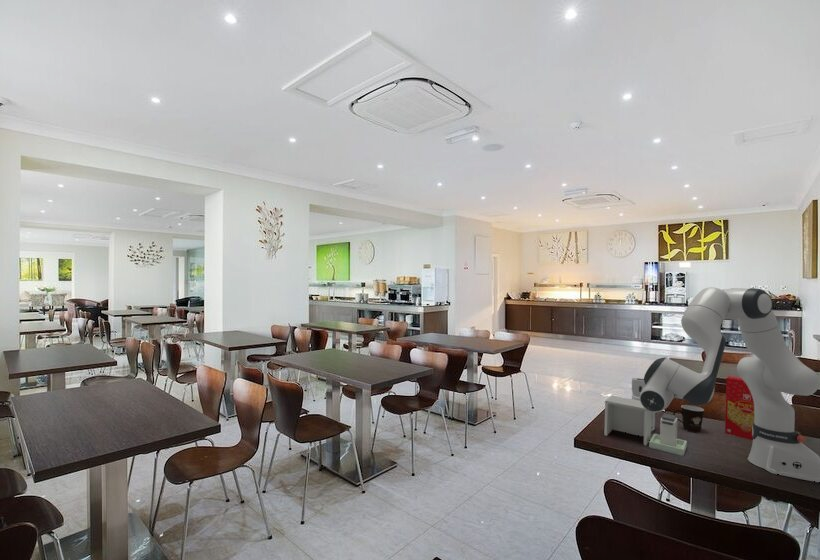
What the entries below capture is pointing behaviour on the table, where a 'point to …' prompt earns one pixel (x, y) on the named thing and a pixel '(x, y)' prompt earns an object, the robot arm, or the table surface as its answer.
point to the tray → (677, 450)
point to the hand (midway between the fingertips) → (665, 384)
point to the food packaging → (739, 408)
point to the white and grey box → (668, 430)
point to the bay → (627, 417)
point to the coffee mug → (691, 418)
